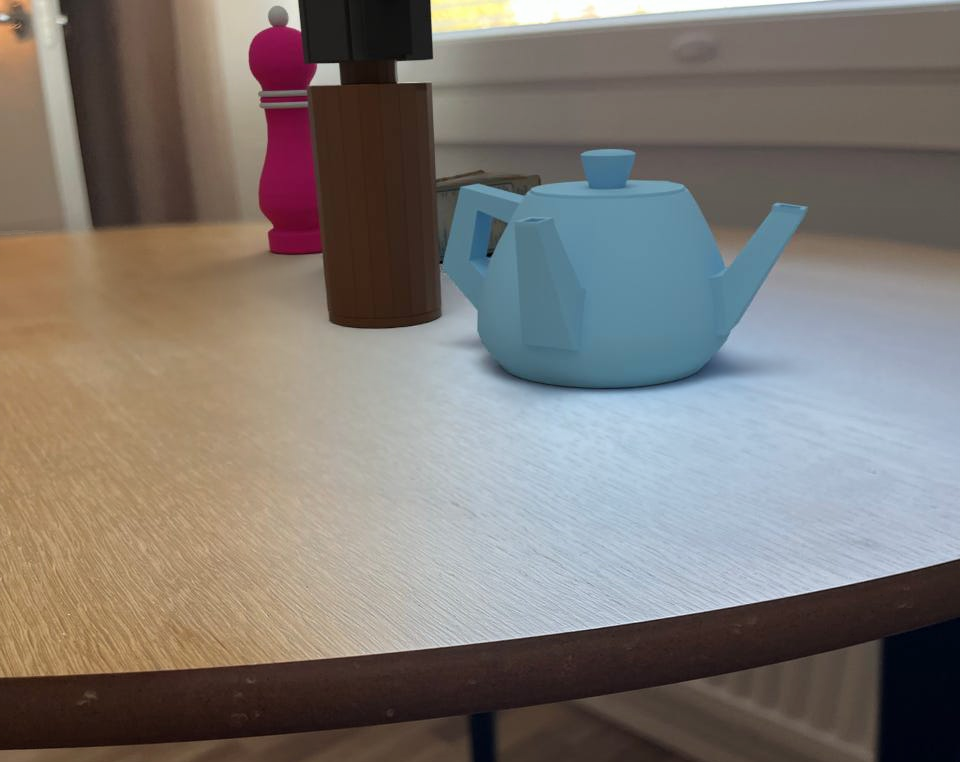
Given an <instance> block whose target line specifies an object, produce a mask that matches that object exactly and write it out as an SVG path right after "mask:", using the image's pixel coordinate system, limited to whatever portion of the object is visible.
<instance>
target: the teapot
mask: <svg viewBox="0 0 960 762" xmlns="http://www.w3.org/2000/svg"><path fill="white" fill-rule="evenodd" d="M636 153H637V152H634V151H633V150H629V149H618V148H617V149H616V148H607V149H606V148H605V149H593V150H586V151H584V152H582V153H581V154H580V160H581V165H582V168H583V172H584V174H585V178H586V180H580V181H565V182H563V181H562V182H554V183H547V184H541V186H536V187H533V188H531V190H530V191H528V192H527V193H526V195H525V196H523V195H519V194H515V193H511V192H508V191H504V190H500V189H496V188H493V187H489V186H485V185H481V184H474V185H469V186H463V187H460V191H459V196H458V200H457V204H456V209H455V213H454V217H453V222H452V226H451V230H450V234H449V239H448V243H447V247H446V252H445V256H444V260H443V261H442V265H441V270H442V271H443V272H444V273H445V274H446V275H447V277H448V278H449V279H450V280H451V281H452V283H453V284H454V285H455V286H456V287H457V289H458V290H459V291H460V292H461V293H462V294H463V295H464V297H465V298H466V299H467V300H468V302H470V304H471V305H472V306H473V307H474V308H475V309H476V311H477V318H476V321H477V323H476V332H477V334H478V336H479V340H480V341H481V344H482V345H483V346H484V348H485V349H486V350H487V351H488V352H489V354H490V355H491V356H492V357H493V359H494V360H495V361H496V362H497V363H498V364H499V365H500V366H501V368H502V369H503V370H505V371H506V372H507V373H509V374H511V375H513V376H515V377H518V378H520V379H523V380H527V381H530V382H536V383H540V384H545V385H553V386H560V387H573V388H586V389H587V388H589V389H590V388H591V389H615V388H635V387H645V386H652V385H659V384H665V383H669V382H674V381H678V380H682V379H684V378H688V377H690V376H692V375H694V374H696V373H698V372H699V371H701V369H703V367H704V366H705V365H706V364H707V363H708V362H709V361H710V360H711V359H712V358H713V357H714V356H715V355H716V354H717V353H718V352H719V351H720V350H721V348H722V347H723V346H724V344H725V343H726V342H727V340H728V338H729V336H730V334H731V332H732V330H733V329H734V328H735V327H736V326H737V325H738V324H739V323H740V322H741V320H742V318H743V316H744V315H745V313H746V311H748V309H749V307H750V305H751V304H752V302H753V300H754V299H755V297H756V295H757V294H758V293H759V290H760V289H761V287H762V286H763V284H764V282H765V281H766V279H767V278H768V276H769V274H770V273H771V272H772V269H773V268H774V266H775V265H776V263H777V261H778V260H779V258H780V257H781V255H782V253H783V251H784V250H785V248H786V247H787V245H788V244H789V242H790V240H791V239H792V237H793V236H794V234H795V233H796V231H797V229H798V227H799V226H800V224H801V223H802V221H803V220H804V218H805V216H806V215H807V213H808V208H809V207H808V206H807V205H806V206H805V205H799V204H790V203H782V202H775V203H773V205H772V206H771V211H770V212H769V214H768V215H767V216H766V217H765V219H764V220H763V221H762V223H761V224H760V225H759V226H758V228H757V229H756V231H755V232H754V233H753V234H752V235H751V237H750V238H749V240H748V241H747V243H746V244H745V245H744V246H743V248H742V249H741V250H740V252H739V253H738V254H737V255H736V257H735V258H734V259H733V261H732V262H730V263H731V264H730V265H729V266H728V267H726V265H725V261H724V259H723V258H724V257H723V255H722V254H721V250H720V248H719V245H718V243H717V241H716V238H715V236H714V234H713V232H712V230H711V228H710V226H709V224H708V222H707V220H706V218H705V216H704V214H703V213H702V210H701V208H700V206H699V204H698V203H697V201H696V200H695V198H694V196H693V195H692V193H691V192H690V190H689V188H687V187H686V186H685V185H684V184H682V183H678V182H671V180H643V179H641V180H637V179H636V180H635V179H629V176H630V173H631V170H632V168H633V165H634V163H635V159H636ZM493 217H495V218H497V219H500V220H502V221H505V222H507V223H508V225H507V227H506V229H505V230H504V232H503V234H502V236H501V238H500V240H499V242H498V244H497V246H496V248H495V250H494V253H492V255H491V257H490V258H489V257H488V256H487V255H488V254H487V249H488V243H489V237H490V231H491V225H492V219H493Z"/></svg>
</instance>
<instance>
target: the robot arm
mask: <svg viewBox="0 0 960 762" xmlns="http://www.w3.org/2000/svg"><path fill="white" fill-rule="evenodd" d="M360 4H361V18H362V32H363V46H364V56H378V55H411V54H413V51H412V32H411V13H410V0H360Z"/></svg>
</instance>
